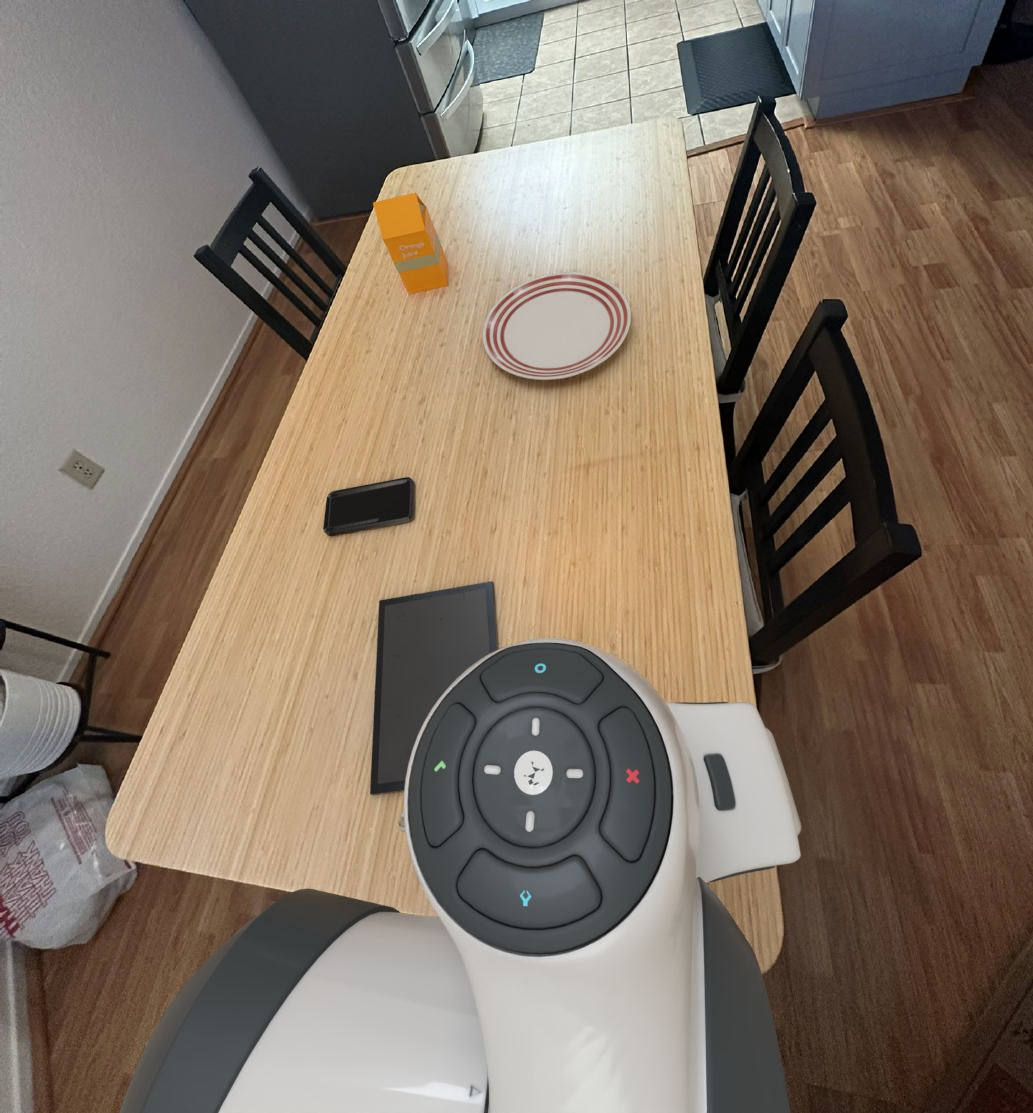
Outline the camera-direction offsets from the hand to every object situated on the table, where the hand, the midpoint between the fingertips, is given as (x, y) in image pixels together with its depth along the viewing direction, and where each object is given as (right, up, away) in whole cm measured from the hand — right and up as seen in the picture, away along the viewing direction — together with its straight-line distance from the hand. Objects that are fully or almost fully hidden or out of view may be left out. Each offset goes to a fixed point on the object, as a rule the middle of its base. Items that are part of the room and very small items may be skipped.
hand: (613, 805), depth 39 cm
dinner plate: (+1, +43, +70) cm, 82 cm away
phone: (-30, +12, +56) cm, 65 cm away
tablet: (-17, -9, +38) cm, 43 cm away
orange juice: (-25, +57, +87) cm, 107 cm away
